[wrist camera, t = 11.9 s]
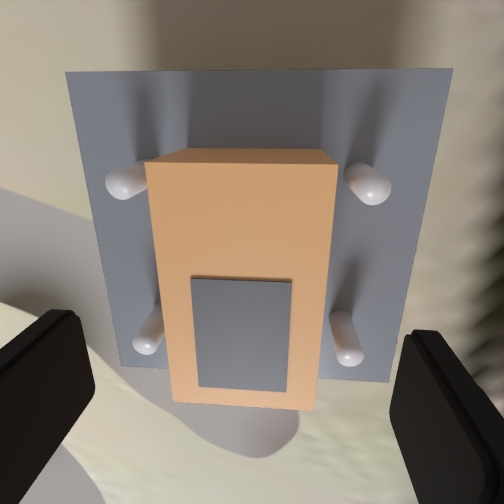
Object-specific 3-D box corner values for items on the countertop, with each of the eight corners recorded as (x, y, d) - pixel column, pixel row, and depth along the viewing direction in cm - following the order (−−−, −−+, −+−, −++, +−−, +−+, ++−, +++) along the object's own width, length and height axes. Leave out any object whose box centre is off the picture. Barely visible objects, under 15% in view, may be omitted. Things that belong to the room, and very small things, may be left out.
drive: (306, 336, 18) (314, 412, 14) (199, 330, 19) (172, 403, 14) (320, 148, 14) (339, 165, 10) (186, 147, 15) (143, 162, 10)
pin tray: (382, 368, 20) (406, 427, 16) (129, 353, 21) (96, 405, 18) (440, 71, 14) (500, 55, 10) (80, 74, 15) (12, 61, 11)
